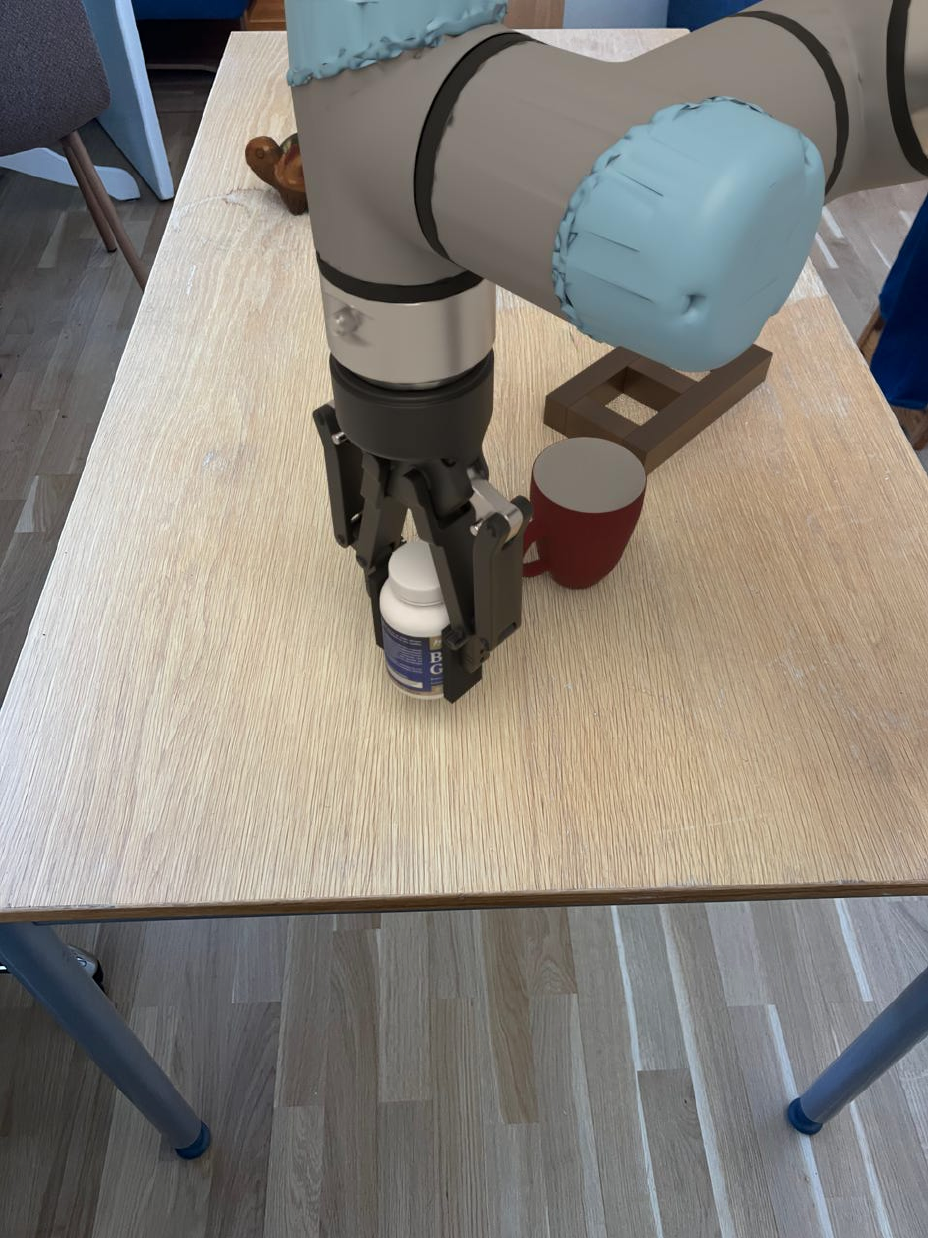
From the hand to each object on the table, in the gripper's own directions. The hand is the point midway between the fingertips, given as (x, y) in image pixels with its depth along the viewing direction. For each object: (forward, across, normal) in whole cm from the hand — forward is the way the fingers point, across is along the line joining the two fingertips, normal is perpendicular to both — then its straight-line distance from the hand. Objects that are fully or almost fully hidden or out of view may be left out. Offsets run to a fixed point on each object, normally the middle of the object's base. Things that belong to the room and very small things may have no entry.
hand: (428, 660), depth 60 cm
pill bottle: (+1, 0, 0) cm, 1 cm away
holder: (+6, -9, +39) cm, 41 cm away
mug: (+6, -1, +16) cm, 17 cm away
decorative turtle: (+5, -60, +42) cm, 74 cm away
